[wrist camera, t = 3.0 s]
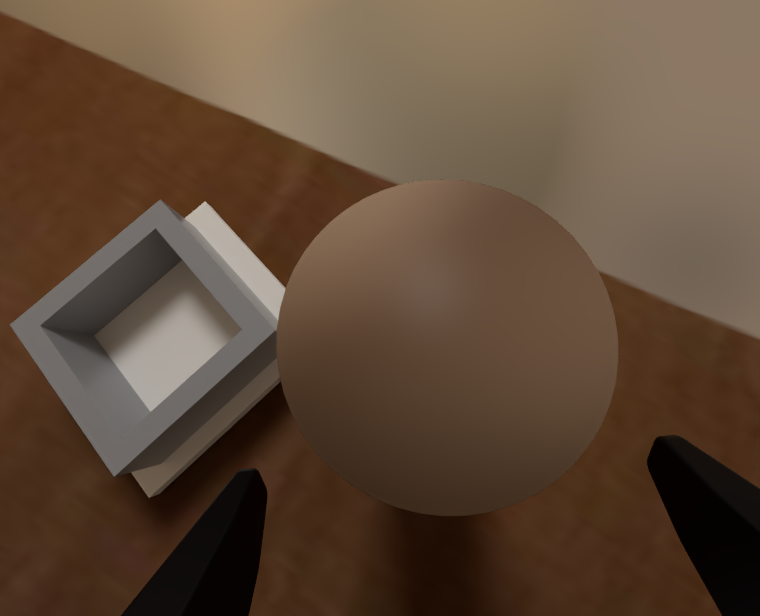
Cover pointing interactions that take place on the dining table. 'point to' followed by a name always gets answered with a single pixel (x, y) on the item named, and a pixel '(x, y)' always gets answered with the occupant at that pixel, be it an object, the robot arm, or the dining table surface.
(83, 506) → the dining table surface
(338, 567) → the dining table surface
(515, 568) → the dining table surface
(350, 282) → the maple knob
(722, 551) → the robot arm
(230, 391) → the plate
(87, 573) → the dining table surface
